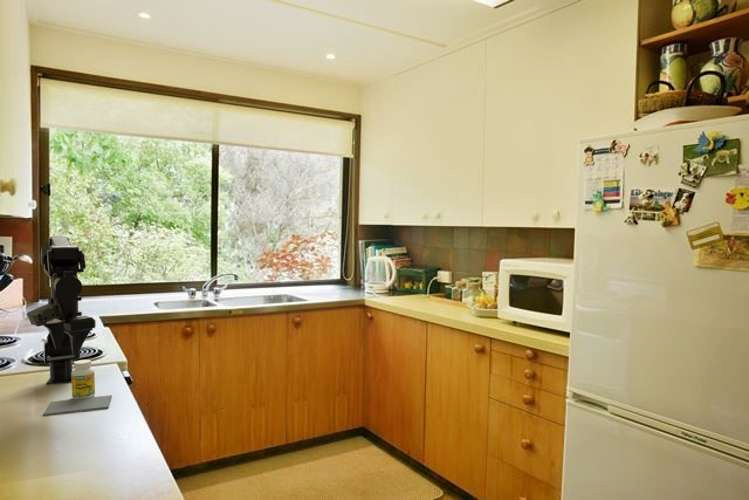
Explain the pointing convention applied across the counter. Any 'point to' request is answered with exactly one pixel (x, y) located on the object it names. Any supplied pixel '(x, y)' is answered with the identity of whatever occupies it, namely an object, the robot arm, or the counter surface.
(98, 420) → the counter surface
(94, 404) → the mat
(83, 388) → the supplement bottle
